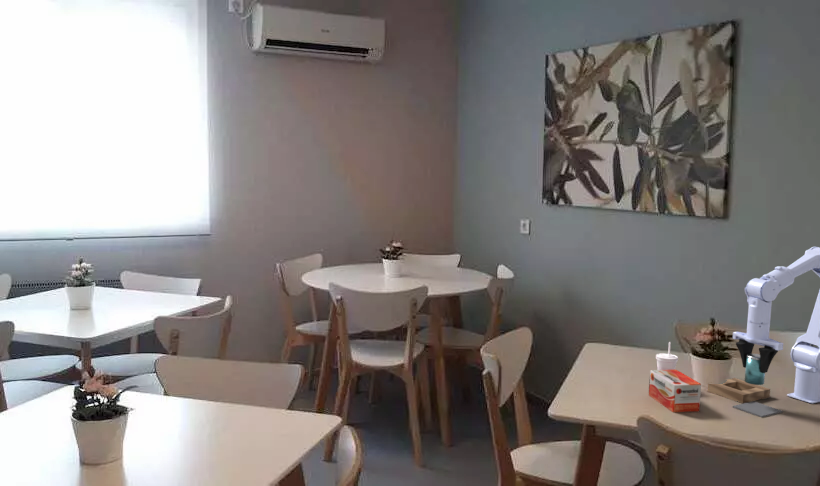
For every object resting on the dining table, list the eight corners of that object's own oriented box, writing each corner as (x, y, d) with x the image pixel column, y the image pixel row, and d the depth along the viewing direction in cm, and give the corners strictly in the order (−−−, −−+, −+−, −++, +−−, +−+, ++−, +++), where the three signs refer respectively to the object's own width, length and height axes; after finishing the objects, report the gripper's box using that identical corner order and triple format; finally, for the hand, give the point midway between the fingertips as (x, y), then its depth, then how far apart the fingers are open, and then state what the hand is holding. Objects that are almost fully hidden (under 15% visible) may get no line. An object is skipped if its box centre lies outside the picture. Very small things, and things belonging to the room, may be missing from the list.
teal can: (750, 378, 215) (752, 352, 214) (767, 383, 211) (769, 356, 210) (740, 381, 212) (743, 355, 211) (757, 385, 208) (760, 359, 207)
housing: (734, 385, 230) (734, 378, 230) (769, 397, 220) (770, 389, 220) (707, 391, 225) (708, 383, 224) (742, 403, 214) (743, 394, 214)
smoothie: (677, 391, 224) (680, 345, 222) (655, 389, 225) (658, 343, 224) (674, 385, 230) (677, 340, 229) (652, 383, 232) (655, 338, 230)
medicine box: (647, 395, 220) (649, 369, 219) (673, 395, 221) (675, 368, 220) (673, 413, 205) (674, 385, 204) (701, 412, 206) (702, 384, 205)
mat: (753, 402, 215) (753, 401, 215) (782, 412, 207) (782, 410, 207) (732, 407, 211) (732, 405, 211) (761, 417, 203) (761, 415, 203)
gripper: (726, 317, 214) (723, 364, 215) (772, 328, 201) (768, 378, 203) (743, 315, 217) (740, 361, 219) (789, 326, 205) (785, 375, 206)
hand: (754, 369), depth 211 cm, fingers closed on teal can, 5 cm apart
